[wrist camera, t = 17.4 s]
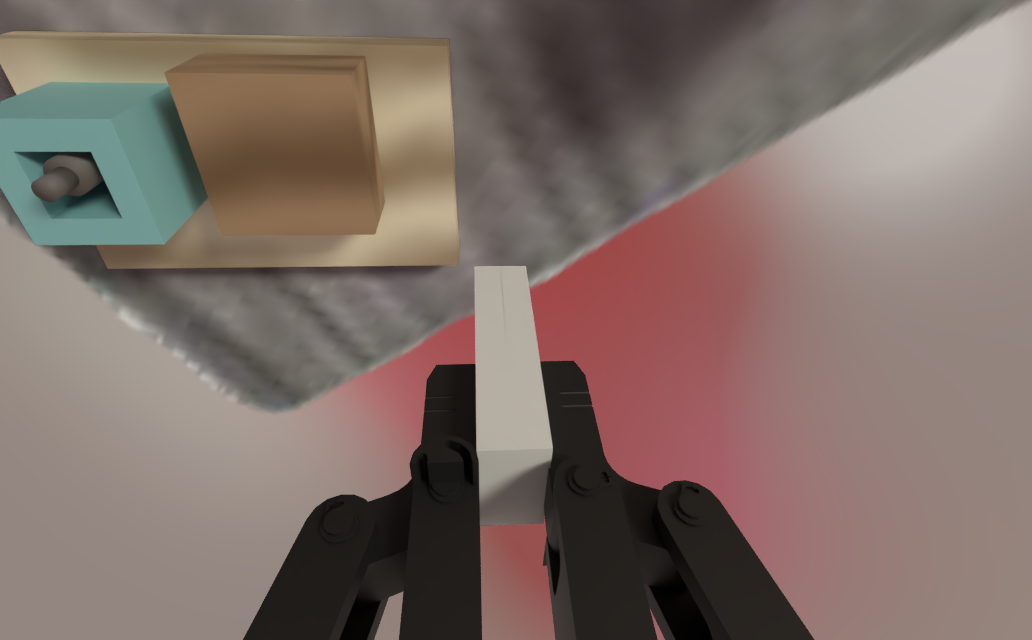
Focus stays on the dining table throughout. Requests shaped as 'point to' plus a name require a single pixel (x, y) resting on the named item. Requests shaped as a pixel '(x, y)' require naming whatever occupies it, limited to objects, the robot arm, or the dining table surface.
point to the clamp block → (283, 142)
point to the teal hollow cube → (101, 162)
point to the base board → (198, 242)
